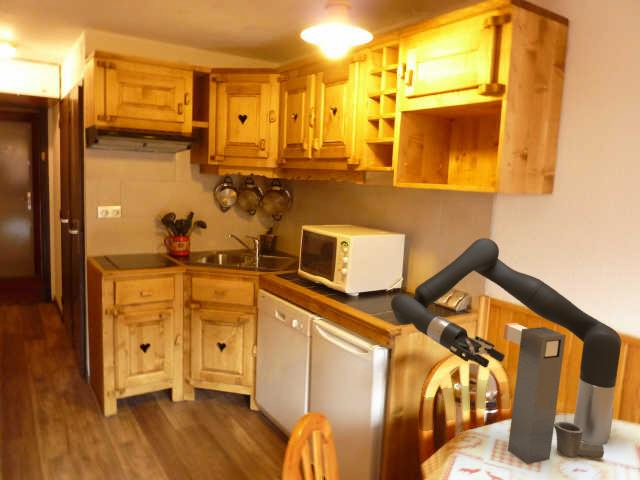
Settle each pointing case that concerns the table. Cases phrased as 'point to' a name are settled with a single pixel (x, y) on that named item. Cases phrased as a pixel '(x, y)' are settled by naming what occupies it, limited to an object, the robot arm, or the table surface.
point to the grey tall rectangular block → (535, 395)
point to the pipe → (575, 442)
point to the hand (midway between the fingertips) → (495, 361)
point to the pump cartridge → (514, 334)
